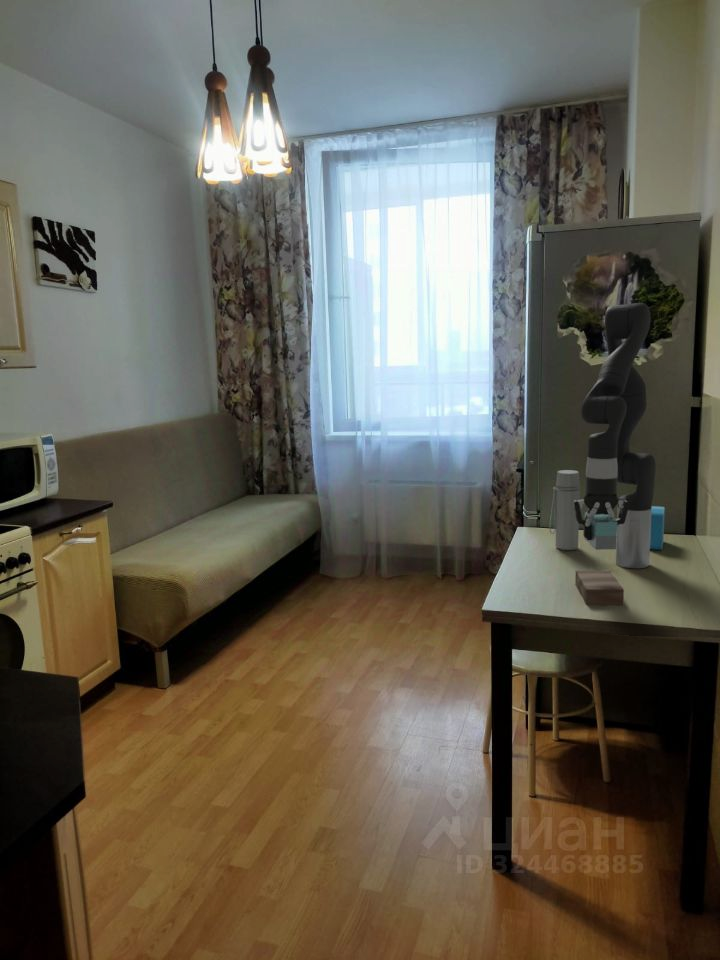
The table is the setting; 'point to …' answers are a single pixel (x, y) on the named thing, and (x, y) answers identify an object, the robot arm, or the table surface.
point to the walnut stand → (599, 588)
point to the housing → (602, 532)
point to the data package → (657, 527)
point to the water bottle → (566, 509)
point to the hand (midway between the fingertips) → (599, 539)
